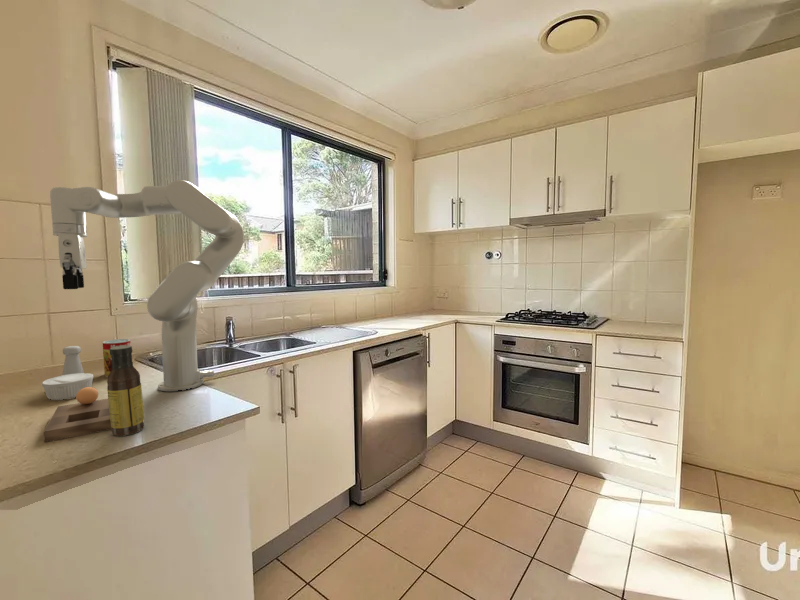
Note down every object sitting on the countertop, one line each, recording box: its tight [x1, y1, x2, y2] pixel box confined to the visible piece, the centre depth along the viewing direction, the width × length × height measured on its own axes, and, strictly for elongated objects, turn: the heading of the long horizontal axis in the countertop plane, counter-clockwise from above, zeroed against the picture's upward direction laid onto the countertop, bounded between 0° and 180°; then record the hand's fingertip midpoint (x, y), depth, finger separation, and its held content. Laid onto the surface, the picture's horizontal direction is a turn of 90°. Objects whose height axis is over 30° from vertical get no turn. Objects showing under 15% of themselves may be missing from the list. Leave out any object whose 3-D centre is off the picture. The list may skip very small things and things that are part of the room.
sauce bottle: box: [106, 345, 145, 437], centre depth 83 cm, size 6×6×20 cm
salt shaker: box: [61, 345, 85, 376], centre depth 116 cm, size 6×6×13 cm
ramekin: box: [41, 372, 94, 401], centre depth 108 cm, size 11×11×5 cm
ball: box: [75, 386, 99, 404], centre depth 95 cm, size 4×4×4 cm
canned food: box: [102, 338, 132, 377], centre depth 131 cm, size 8×8×12 cm
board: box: [43, 398, 112, 443], centre depth 90 cm, size 14×18×2 cm
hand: (74, 288), depth 110 cm, fingers open, 9 cm apart
